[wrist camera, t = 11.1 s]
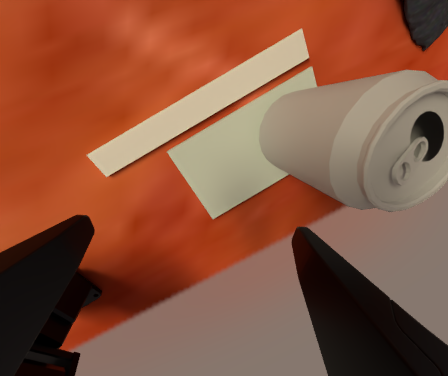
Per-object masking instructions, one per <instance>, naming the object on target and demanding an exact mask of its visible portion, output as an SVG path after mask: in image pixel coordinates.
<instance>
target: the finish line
mask: <svg viewBox="0 0 448 376" xmlns="http://www.w3.org/2000/svg"><path fill="white" fill-rule="evenodd" d="M308 58H309V55H308V51H307V47H306V43H305V39H304V35H303V31H302V29H300V30H298V31H296V32H295V33H293V34H291V35H290V36H288V37H286V38H285V39H283V40H281V41H280V42H278V43H276V44H274V45H273V46H271V47H269V48H268V49H266V50H264V51H263V52H261V53H259V54H257V55H256V56H254V57H252V58H251V59H249V60H247V61H246V62H244V63H242V64H240V65H239V66H237V67H235V68H234V69H232V70H230V71H229V72H227V73H225V74H223V75H222V76H220V77H218V78H217V79H215V80H213V81H212V82H210V83H208V84H206V85H205V86H203V87H201V88H200V89H198V90H196V91H195V92H193V93H191V94H189V95H188V96H186V97H184V98H183V99H181V100H179V101H178V102H176V103H174V104H173V105H171V106H169V107H167V108H166V109H164V110H162V111H161V112H159V113H157V114H156V115H154V116H152V117H150V118H149V119H147V120H145V121H144V122H142V123H140V124H139V125H137V126H135V127H133V128H132V129H130V130H128V131H127V132H125V133H123V134H122V135H120V136H118V137H116V138H115V139H113V140H111V141H110V142H108V143H106V144H105V145H103V146H101V147H99V148H98V149H96V150H94V151H93V152H91V153H89V154H88V155H87V156H88V157H89V158H90V159H91V161H92V162H93V163H94V164H95V165H96V166H97V167H98V168H99V169H100V170H101V172H102V173H103V174H104V175H105V176H106V177H108V176H109V175H111V174H113V173H114V172H116V171H118V170H119V169H121V168H123V167H124V166H126V165H128V164H130V163H131V162H133V161H135V160H136V159H138V158H140V157H141V156H143V155H145V154H147V153H148V152H150V151H152V150H153V149H155V148H157V147H158V146H160V145H162V144H164V143H165V142H167V141H169V140H170V139H172V138H174V137H175V136H177V135H179V134H180V133H182V132H184V131H186V130H187V129H189V128H191V127H192V126H194V125H196V124H197V123H199V122H201V121H203V120H204V119H206V118H208V117H209V116H211V115H213V114H214V113H216V112H218V111H219V110H221V109H223V108H225V107H226V106H228V105H230V104H231V103H233V102H235V101H236V100H238V99H240V98H242V97H243V96H245V95H247V94H248V93H250V92H252V91H253V90H255V89H257V88H259V87H260V86H262V85H264V84H265V83H267V82H269V81H270V80H272V79H274V78H275V77H277V76H279V75H281V74H282V73H284V72H286V71H287V70H289V69H291V68H292V67H294V66H296V65H298V64H299V63H301V62H303V61H304V60H306V59H308Z"/></svg>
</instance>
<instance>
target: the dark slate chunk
mask: <svg viewBox="0 0 448 376" xmlns="http://www.w3.org/2000/svg"><path fill="white" fill-rule="evenodd" d="M404 12H405V16H406V20H407V22H408V26H409V28H410V33H411V38H412V39H413V40H415V41H416V44H417V45H422V50H423V51H424V50H426V49H427V48H428V47H429V46H430V45H431V44H432V43H433V42H434V41H435V40H436V39H437V38H438V37H439V36H440V35H441V34H442V33H443V31H444V30H445V29H446V27H447V26H448V0H404Z"/></svg>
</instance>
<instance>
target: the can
mask: <svg viewBox="0 0 448 376" xmlns="http://www.w3.org/2000/svg"><path fill="white" fill-rule="evenodd" d="M259 142H260V147H261V151H262V153H263V154H264V156H265V157H266V159H267V160H268V161H269V162H270V163H272V164H273V165H274V166H276V167H278V168H279V169H281V170H283V171H285V172H287V173H288V174H290V175H292V176H294V177H296V178H298V179H299V180H301V181H303V182H305V183H307V184H308V185H310V186H312V187H314V188H316V189H318V190H319V191H321V192H323V193H325V194H327V195H328V196H330V197H332V198H334V199H336V200H338V201H339V202H341V203H343V204H345V205H347V206H349V207H353V208H357V209H361V210H363V209H371V208H378V209H381V210H385V211H388V212H393V211H401V210H406V209H409V208H411V207H413V206H415V205H418V204H420V203H422V202H423V201H425V200H426V199H428V198H429V197H430V196H432V195H433V194H435V193H436V192H437V191H438V190H439V189H440V188H441V187H442V186H443V185H444V184H445V183H446V182H447V181H448V81H446V80H437V79H435V78H434V77H432V76H431V75H430V74H428V73H427V72H425V71H413V70H404V71H398V72H393V73H388V74H383V75H377V76H372V77H367V78H362V79H357V80H351V81H346V82H341V83H336V84H330V85H325V86H320V87H315V88H310V89H304V90H299V91H294V92H291V93H288V94H285V95H283V96H281V97H280V98H279V99H277V100H276V101H275V102H274V103H272V105H271V106H270V107H269V109H268V110H267V112H266V113H265V114H264V117H263V120H262V123H261V125H260V132H259Z"/></svg>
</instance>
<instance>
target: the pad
mask: <svg viewBox="0 0 448 376" xmlns="http://www.w3.org/2000/svg"><path fill="white" fill-rule="evenodd" d="M315 87H317V85H316V81H315V76H314V72H313V68H312V67H309V68H307V69H306V70H304V71H302V72H300V73H299V74H297V75H295V76H294V77H292V78H290V79H289V80H287V81H285V82H284V83H282V84H280V85H278V86H277V87H275V88H273V89H272V90H270V91H268V92H267V93H265V94H263V95H261V96H260V97H258V98H256V99H255V100H253V101H251V102H250V103H248V104H246V105H245V106H243V107H241V108H239V109H238V110H236V111H234V112H233V113H231V114H229V115H228V116H226V117H224V118H222V119H221V120H219V121H217V122H216V123H214V124H212V125H211V126H209V127H207V128H205V129H204V130H202V131H200V132H199V133H197V134H195V135H194V136H192V137H190V138H189V139H187V140H185V141H183V142H182V143H180V144H178V145H177V146H175V147H173V148H172V149H170V150H168V151H167V153H168V154H169V156H170V157H171V159H172V160H173V162H174V163H175V165H176V166H177V168H178V169H179V170H180V172H181V173H182V175H183V176H184V178H185V179H186V181H187V182H188V184H189V185H190V187H191V188H192V189H193V191H194V192H195V194H196V195H197V197H198V198H199V200H200V201H201V203H202V204H203V206H204V207H205V208H206V210H207V211H208V213H209V214H210V216H211V217H212V219H214V218H216V217H218V216H219V215H221V214H223V213H225V212H226V211H228V210H230V209H231V208H233V207H235V206H236V205H238V204H240V203H241V202H243V201H245V200H247V199H248V198H250V197H252V196H253V195H255V194H257V193H258V192H260V191H262V190H263V189H265V188H267V187H269V186H270V185H272V184H274V183H275V182H277V181H279V180H280V179H282V178H284V177H285V176H287V175H289V174H288V173H287V172H285V171H283V170H281V169H279V168H278V167H276V166H274V165H273V164H272V163H270V162H269V161H268V160H267V159H266V157H265V156H264V154H263V153H262V151H261V147H260V142H259V132H260V125H261V123H262V120H263V117H264V114H265V113H266V112H267V110H268V109H269V107H270V106H271V105H272V103H274V102H275V101H276V100H277V99H279V98H280V97H281V96H283V95H285V94H288V93H291V92H294V91H299V90H304V89H310V88H315Z"/></svg>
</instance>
